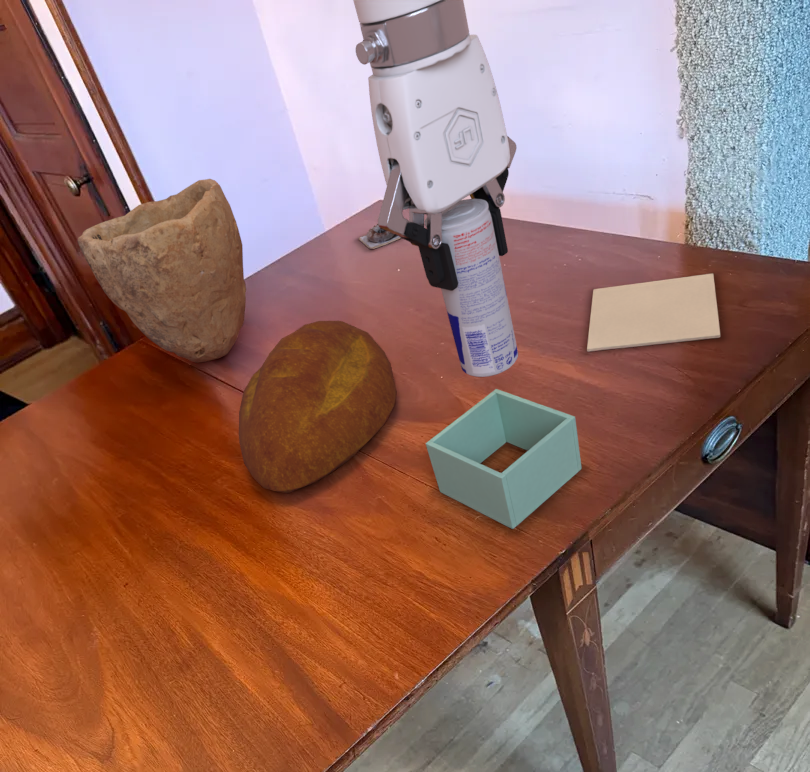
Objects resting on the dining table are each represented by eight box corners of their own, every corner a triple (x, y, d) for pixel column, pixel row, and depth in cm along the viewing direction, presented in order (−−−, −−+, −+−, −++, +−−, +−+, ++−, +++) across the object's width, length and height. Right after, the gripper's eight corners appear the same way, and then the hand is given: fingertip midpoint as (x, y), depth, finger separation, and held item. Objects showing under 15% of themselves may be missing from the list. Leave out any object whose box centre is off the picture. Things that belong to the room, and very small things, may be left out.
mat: (713, 275, 102) (713, 273, 102) (720, 337, 92) (720, 334, 91) (593, 291, 108) (593, 289, 108) (587, 351, 97) (586, 349, 97)
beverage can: (528, 350, 73) (500, 194, 63) (503, 383, 70) (469, 225, 60) (478, 347, 76) (443, 198, 66) (452, 378, 73) (411, 227, 63)
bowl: (259, 306, 135) (199, 163, 118) (299, 350, 119) (236, 190, 102) (144, 359, 131) (65, 219, 115) (169, 412, 115) (81, 257, 98)
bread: (208, 505, 94) (161, 426, 86) (301, 361, 116) (271, 287, 108) (358, 504, 87) (323, 417, 78) (428, 350, 108) (407, 269, 100)
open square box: (506, 438, 88) (496, 388, 84) (582, 468, 81) (575, 416, 76) (439, 492, 84) (425, 443, 80) (512, 529, 77) (501, 478, 72)
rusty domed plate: (369, 251, 140) (366, 240, 139) (358, 239, 146) (355, 228, 145) (410, 234, 141) (407, 224, 139) (397, 223, 147) (395, 213, 145)
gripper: (359, 78, 49) (428, 326, 61) (532, -11, 55) (564, 230, 67) (297, 82, 54) (372, 310, 66) (462, 0, 60) (503, 222, 72)
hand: (468, 267), depth 66 cm, fingers closed on beverage can, 5 cm apart
